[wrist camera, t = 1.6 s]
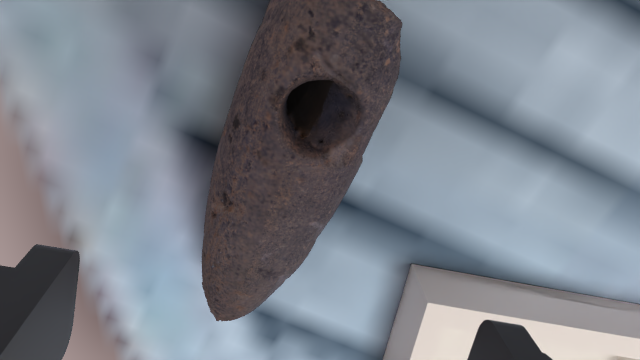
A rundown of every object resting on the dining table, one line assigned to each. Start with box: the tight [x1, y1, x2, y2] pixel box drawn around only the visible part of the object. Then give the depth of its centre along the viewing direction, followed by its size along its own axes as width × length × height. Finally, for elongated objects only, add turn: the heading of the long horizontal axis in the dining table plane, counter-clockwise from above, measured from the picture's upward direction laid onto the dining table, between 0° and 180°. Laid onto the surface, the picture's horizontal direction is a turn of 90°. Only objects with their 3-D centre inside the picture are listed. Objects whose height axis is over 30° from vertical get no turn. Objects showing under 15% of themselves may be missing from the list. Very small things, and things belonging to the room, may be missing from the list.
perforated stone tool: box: [202, 0, 402, 321], centre depth 23 cm, size 15×5×7 cm, turn 157°
